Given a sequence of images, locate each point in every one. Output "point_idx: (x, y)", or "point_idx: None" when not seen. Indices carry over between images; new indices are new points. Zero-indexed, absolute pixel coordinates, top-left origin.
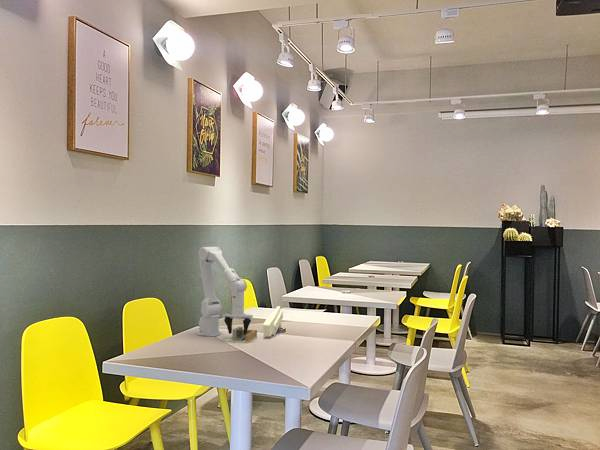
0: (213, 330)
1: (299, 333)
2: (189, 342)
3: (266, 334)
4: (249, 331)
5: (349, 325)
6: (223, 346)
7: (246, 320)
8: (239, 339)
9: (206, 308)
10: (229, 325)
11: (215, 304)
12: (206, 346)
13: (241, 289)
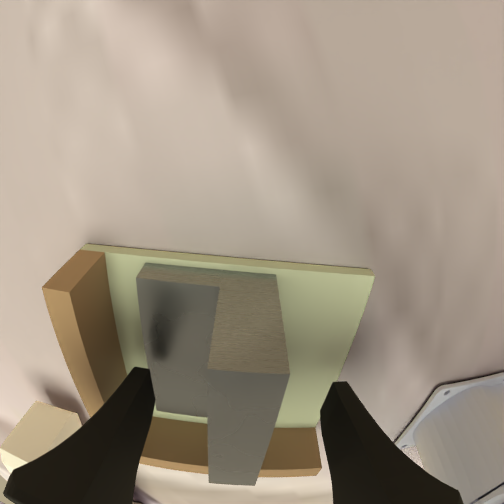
0: (460, 420)
1: None
2: None
3: (51, 413)
4: (165, 452)
5: (8, 472)
6: (317, 20)
7: (11, 498)
8: (177, 275)
9: None
10: (363, 463)
11: None
12: (478, 36)
13: None
